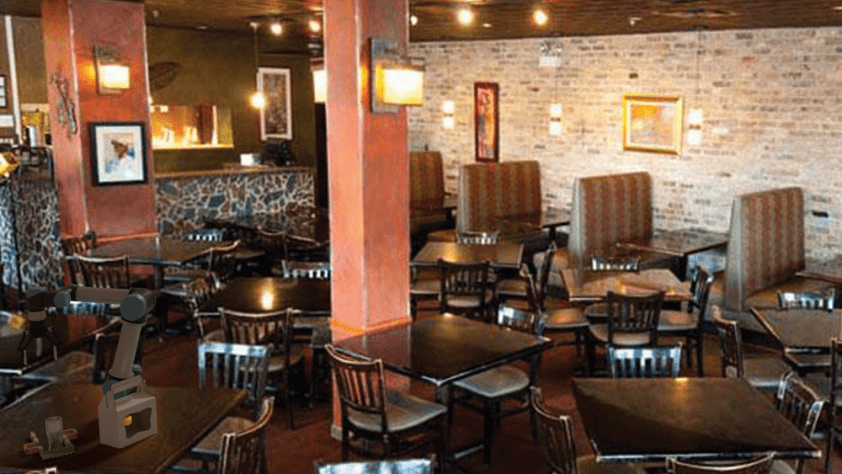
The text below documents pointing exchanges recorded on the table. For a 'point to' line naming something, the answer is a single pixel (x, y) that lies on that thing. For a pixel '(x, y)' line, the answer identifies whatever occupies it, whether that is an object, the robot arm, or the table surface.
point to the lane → (54, 452)
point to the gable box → (134, 404)
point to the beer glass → (54, 432)
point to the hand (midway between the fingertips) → (40, 361)
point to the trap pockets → (32, 448)
